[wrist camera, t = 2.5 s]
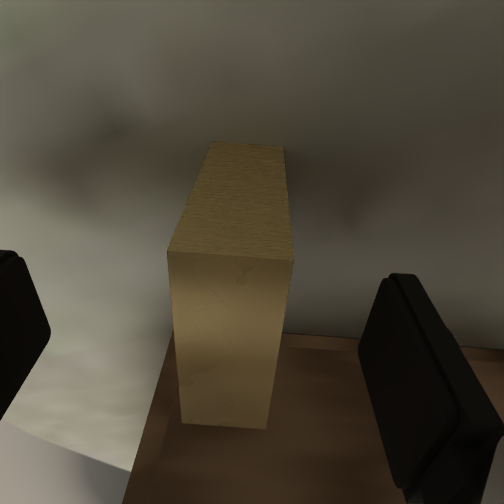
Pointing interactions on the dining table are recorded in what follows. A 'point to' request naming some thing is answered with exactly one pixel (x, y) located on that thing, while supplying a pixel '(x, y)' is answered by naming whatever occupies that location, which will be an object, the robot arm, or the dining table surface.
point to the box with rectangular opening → (283, 435)
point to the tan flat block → (231, 285)
